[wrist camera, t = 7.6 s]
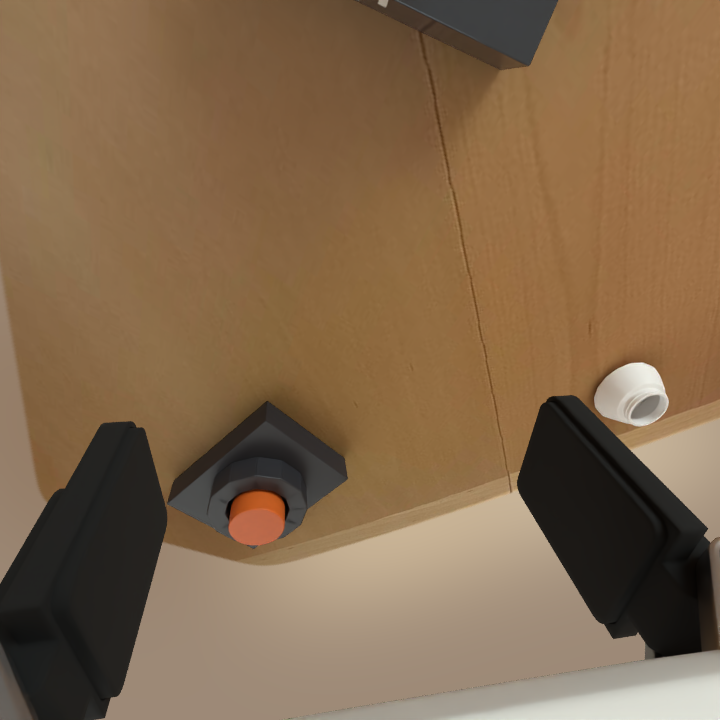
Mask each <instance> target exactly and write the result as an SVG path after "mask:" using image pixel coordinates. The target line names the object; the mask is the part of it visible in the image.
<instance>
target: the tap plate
mask: <svg viewBox="0 0 720 720" xmlns="http://www.w3.org/2000/svg"><path fill="white" fill-rule="evenodd" d="M355 1H357V2H359V3H361V4H363V5H365V6H368V7H370V8H372V9H374V10H376V11H378V12H380V13H382V14H384V15H386V16H388V17H391V18H393V19H395V20H397V21H399V22H401V23H403V24H405V25H407V26H409V27H411V28H414V29H416V30H418V31H420V32H422V33H424V34H426V35H428V36H430V37H432V38H434V39H437V40H439V41H441V42H443V43H445V44H447V45H449V46H451V47H453V48H455V49H457V50H460V51H462V52H464V53H466V54H468V55H470V56H472V57H474V58H476V59H478V60H480V61H483V62H485V63H487V64H489V65H491V66H493V67H495V68H497V69H499V70H505V69H512V68H519V67H526V66H529V65H530V64H531V61H532V59H533V57H534V55H535V52H536V50H537V48H538V45H539V43H540V41H541V39H542V36H543V34H544V32H545V29H546V27H547V25H548V23H549V20H550V18H551V16H552V13H553V11H554V9H555V7H556V4H557V2H558V0H355Z"/></svg>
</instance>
